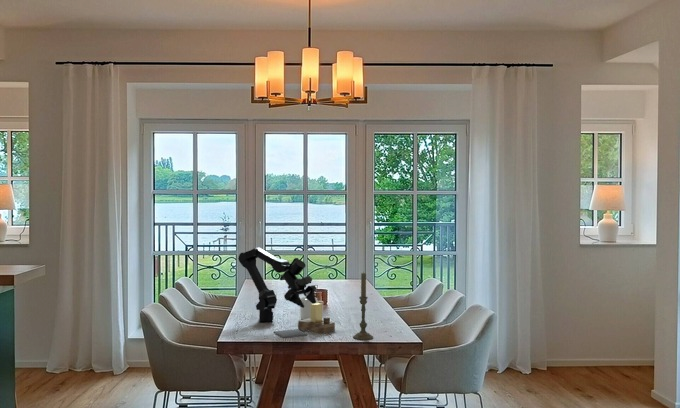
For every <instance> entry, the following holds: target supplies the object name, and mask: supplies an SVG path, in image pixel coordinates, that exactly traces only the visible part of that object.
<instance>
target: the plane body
mask: <svg viewBox="0 0 680 408" xmlns="http://www.w3.org/2000/svg"><path fill="white" fill-rule="evenodd" d="M297 323H298V324H297V329H298V330H300V331H306V332H307V331H308V332H313V333H317V334H318V333H319V334H324V335H325V334H329V333H332V332H334V331H336V328H335V326H336V325H335V324H336V322H334V321H331V318H330V317H326V316H325V317H323V319H322V322H319V323H311V319H310V318H308V319H304V320H302V319H300V320H298V321H297Z"/></svg>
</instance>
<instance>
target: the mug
mask: <svg viewBox="0 0 680 408" xmlns="http://www.w3.org/2000/svg"><path fill="white" fill-rule="evenodd" d="M300 299H301V301H302V302H303V304H304V306H305V307H304V308H302V307H300V306H299V308H300V309H299V311H300V312H299V315H300V316H299V318H300V320H304V319H308V318H310V319H311V304H313V303H311V302H310V301H309V300H308V299H307V298H306V296H304V297H303V296H302V297H300ZM315 300H316V303H322V313H323V312H324V301H323V300H318V297H315Z"/></svg>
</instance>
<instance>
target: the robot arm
mask: <svg viewBox="0 0 680 408" xmlns="http://www.w3.org/2000/svg"><path fill="white" fill-rule="evenodd" d="M238 255H239V256H238V258H237V259H238V261H239V263H240V265H241V266H242V267H243V268H244V269H246V270H247V271H248V274H249V275H250V278H251V280H252V282H253V284H254V286H255V288H256V290H257V292H258V302H257V304H256V305H255V308H256V309H255V310H257V311H258V312H259V313H258V317H259V318H258V322H259V323H273V321H274V312H273V310H274V309H275V307H276V305H277V302H278V299H277V294H275V291H274V290H273V289H269V288H268V287H267V285H266V282H265V280H264V279H263V276H262V274H261V273H260V271H259V269H258V266H257V259H260V260H262V262H265V263H267V264H268V265H270V266H271V268H272V269H273V270H274V271H275V272H276V273H277V274H280V273H283V274H280V278H279V281H285V283H286V284H287V288H288V290H287V291H286V292H285V294H284V299H285V301H288V302H290V303H292V304H295V305H297V306H299V308H300V307H302V308H304V307H305V306H304V304H303V302H302V301H301V299H300V298H301V297H300V295H304V297H306V298H307V299H308V300H309V301H310V302H311V303H313V304H314V303H316V300H315V298H316V295H315V292H316V291H317V287H316V286H315V284H312V281H313V278H312V277H311V276H310V275H307V276H305V277H302V278H298V277H297V276H299V275H300V274H301V273H302V272H303V270H304V269H305V268H306V263H305V262H304V261H303V260H301V259H299V257H295V258H294V259H293V260H292V261H291V262H290V261H288V260H286V259H282V258H278V257H276V256H274V255H273V254H271V253H269V252H268V251H266V250H264V249H263V248H261V247H253V248H252V249H250V250H246V251H244V252H243V251H242V252H240V253H239V254H238ZM309 284H312V285H309Z"/></svg>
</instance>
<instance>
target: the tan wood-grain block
mask: <svg viewBox="0 0 680 408" xmlns="http://www.w3.org/2000/svg"><path fill="white" fill-rule="evenodd" d="M322 320H323V312H322V302H318V303H314V304H311V323H319V322H322Z"/></svg>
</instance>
